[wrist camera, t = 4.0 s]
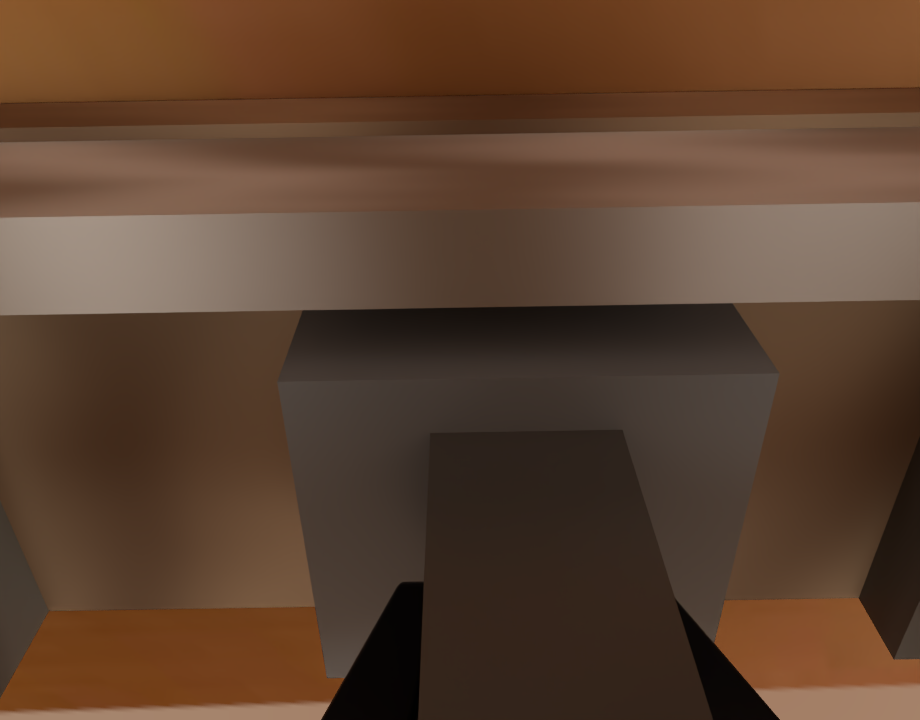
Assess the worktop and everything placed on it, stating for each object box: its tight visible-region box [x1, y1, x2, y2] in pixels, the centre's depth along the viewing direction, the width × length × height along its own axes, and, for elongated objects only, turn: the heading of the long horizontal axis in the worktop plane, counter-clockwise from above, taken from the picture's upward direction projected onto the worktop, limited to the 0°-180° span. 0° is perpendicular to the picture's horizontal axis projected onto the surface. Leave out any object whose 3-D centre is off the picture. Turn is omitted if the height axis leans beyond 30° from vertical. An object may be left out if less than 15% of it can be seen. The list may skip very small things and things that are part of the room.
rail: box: [0, 88, 920, 697], centre depth 13 cm, size 26×10×4 cm, turn 91°
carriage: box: [277, 303, 780, 720], centre depth 10 cm, size 6×6×8 cm
